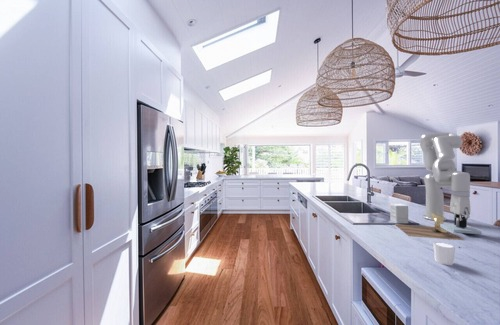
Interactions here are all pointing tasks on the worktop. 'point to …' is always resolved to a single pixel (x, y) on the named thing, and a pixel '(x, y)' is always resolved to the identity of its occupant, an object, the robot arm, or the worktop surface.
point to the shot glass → (444, 253)
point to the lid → (461, 228)
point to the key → (438, 222)
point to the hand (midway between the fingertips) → (460, 225)
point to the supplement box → (399, 213)
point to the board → (426, 232)
